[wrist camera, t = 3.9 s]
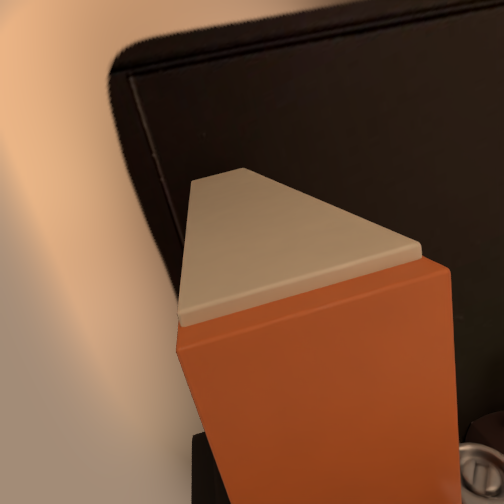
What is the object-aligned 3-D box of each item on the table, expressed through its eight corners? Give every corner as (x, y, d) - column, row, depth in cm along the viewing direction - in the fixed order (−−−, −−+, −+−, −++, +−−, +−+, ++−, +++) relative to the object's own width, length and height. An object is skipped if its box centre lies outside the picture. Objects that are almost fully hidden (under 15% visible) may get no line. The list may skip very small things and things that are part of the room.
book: (243, 166, 19) (452, 251, 4) (287, 352, 23) (475, 768, 7) (190, 180, 18) (168, 333, 3) (243, 365, 22) (345, 823, 7)
